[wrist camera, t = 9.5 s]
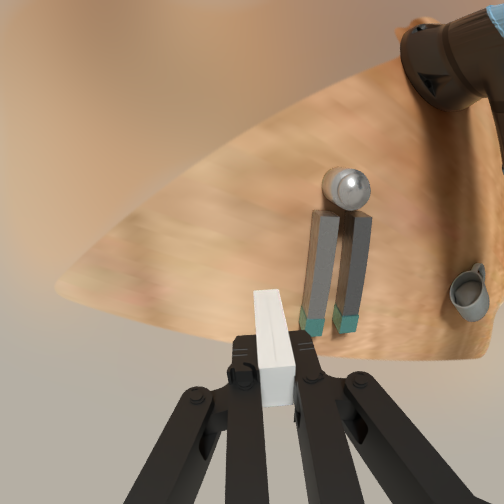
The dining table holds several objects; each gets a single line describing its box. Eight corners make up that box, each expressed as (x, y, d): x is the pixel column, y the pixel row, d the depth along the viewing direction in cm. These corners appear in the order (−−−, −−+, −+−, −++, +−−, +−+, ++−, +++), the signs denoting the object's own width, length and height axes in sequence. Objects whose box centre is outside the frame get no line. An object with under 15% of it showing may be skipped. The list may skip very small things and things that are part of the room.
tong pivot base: (322, 165, 34) (332, 168, 29) (364, 168, 34) (378, 171, 30) (311, 321, 42) (318, 338, 38) (347, 318, 42) (356, 334, 38)
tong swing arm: (315, 168, 33) (327, 171, 29) (354, 172, 34) (372, 176, 29) (298, 322, 41) (305, 343, 37) (332, 320, 42) (342, 340, 37)
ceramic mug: (455, 312, 44) (477, 332, 37) (442, 294, 42) (465, 314, 35) (484, 273, 41) (507, 289, 34) (473, 251, 39) (499, 266, 32)
